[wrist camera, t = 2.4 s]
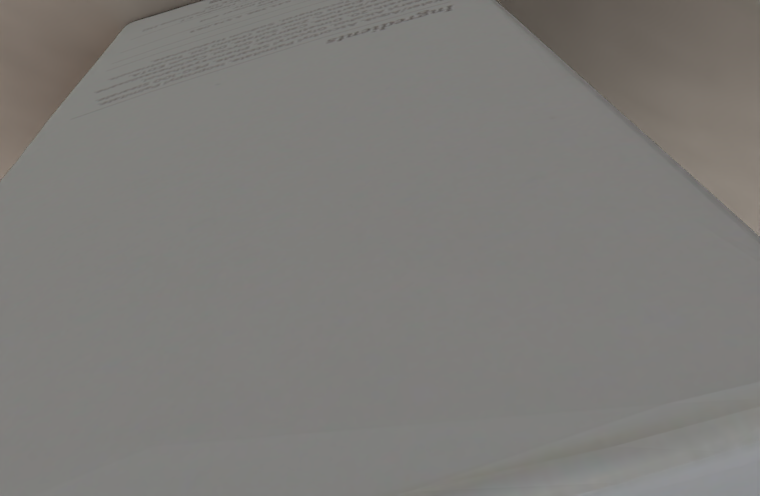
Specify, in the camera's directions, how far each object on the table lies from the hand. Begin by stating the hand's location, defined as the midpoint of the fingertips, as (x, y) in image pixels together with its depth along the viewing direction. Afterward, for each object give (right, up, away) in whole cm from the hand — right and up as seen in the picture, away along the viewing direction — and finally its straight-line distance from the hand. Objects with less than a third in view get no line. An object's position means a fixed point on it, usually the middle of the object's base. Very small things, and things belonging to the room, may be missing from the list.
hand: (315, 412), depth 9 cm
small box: (0, +4, +7) cm, 8 cm away
